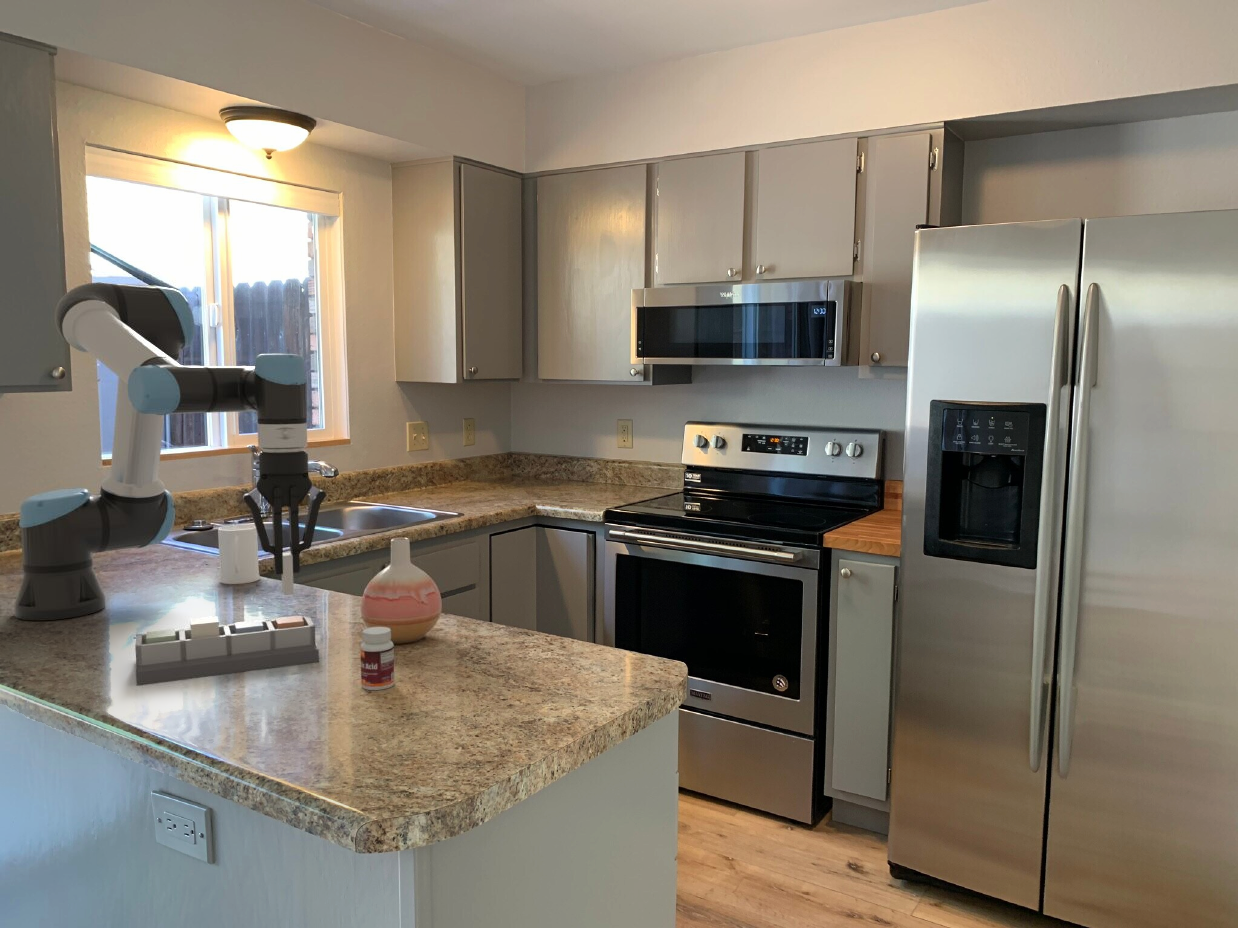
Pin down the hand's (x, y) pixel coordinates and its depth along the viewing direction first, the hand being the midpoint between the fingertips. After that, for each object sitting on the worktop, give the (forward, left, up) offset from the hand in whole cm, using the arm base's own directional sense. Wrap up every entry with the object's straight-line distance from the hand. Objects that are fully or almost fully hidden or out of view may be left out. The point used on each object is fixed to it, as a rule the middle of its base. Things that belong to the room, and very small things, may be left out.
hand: (287, 592), depth 154 cm
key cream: (-13, 0, -6) cm, 14 cm away
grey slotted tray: (-9, 0, -10) cm, 14 cm away
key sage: (-19, 0, -8) cm, 20 cm away
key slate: (-6, 0, -7) cm, 10 cm away
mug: (-3, +62, -10) cm, 63 cm away
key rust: (0, 0, -7) cm, 7 cm away
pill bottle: (+10, -23, -10) cm, 27 cm away
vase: (+19, 0, -10) cm, 21 cm away
